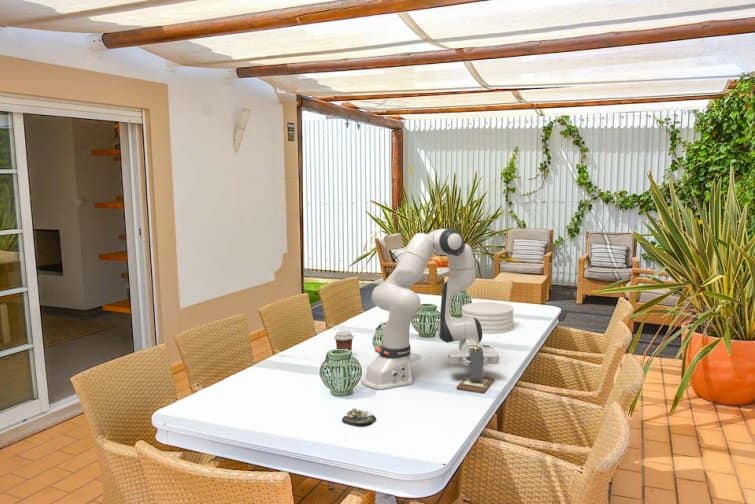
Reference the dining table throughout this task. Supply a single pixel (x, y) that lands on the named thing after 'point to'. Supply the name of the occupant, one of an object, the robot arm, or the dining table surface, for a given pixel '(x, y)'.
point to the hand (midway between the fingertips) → (476, 363)
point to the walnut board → (475, 384)
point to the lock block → (476, 364)
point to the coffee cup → (344, 340)
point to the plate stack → (490, 316)
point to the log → (359, 418)
